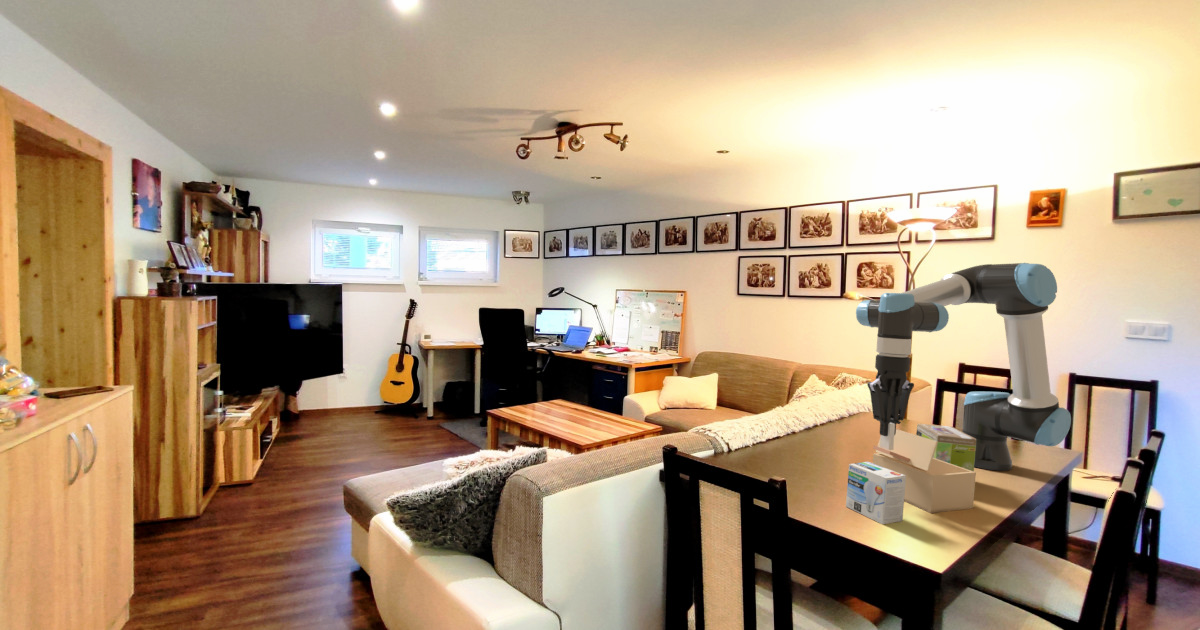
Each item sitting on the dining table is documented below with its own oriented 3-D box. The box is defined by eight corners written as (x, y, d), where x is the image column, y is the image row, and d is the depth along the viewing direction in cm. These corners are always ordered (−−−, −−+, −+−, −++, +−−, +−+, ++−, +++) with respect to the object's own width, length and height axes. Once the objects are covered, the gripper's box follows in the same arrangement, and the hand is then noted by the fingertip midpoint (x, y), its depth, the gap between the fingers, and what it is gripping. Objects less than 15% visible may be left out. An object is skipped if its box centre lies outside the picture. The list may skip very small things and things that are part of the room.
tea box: (973, 492, 144) (978, 438, 143) (932, 488, 146) (936, 434, 145) (949, 474, 159) (952, 425, 158) (912, 470, 161) (915, 422, 160)
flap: (885, 425, 144) (865, 417, 142) (938, 441, 129) (916, 433, 127) (876, 452, 144) (856, 444, 141) (928, 471, 129) (906, 463, 127)
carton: (910, 482, 150) (912, 450, 149) (973, 508, 133) (975, 472, 132) (871, 486, 145) (873, 453, 145) (930, 513, 128) (933, 476, 128)
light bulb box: (844, 506, 130) (847, 463, 130) (864, 503, 133) (867, 460, 132) (883, 525, 120) (886, 478, 120) (904, 521, 123) (907, 475, 122)
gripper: (900, 353, 139) (893, 442, 140) (860, 352, 135) (854, 445, 136) (926, 356, 132) (919, 451, 133) (885, 356, 128) (878, 454, 129)
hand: (886, 448), depth 134 cm, fingers closed
